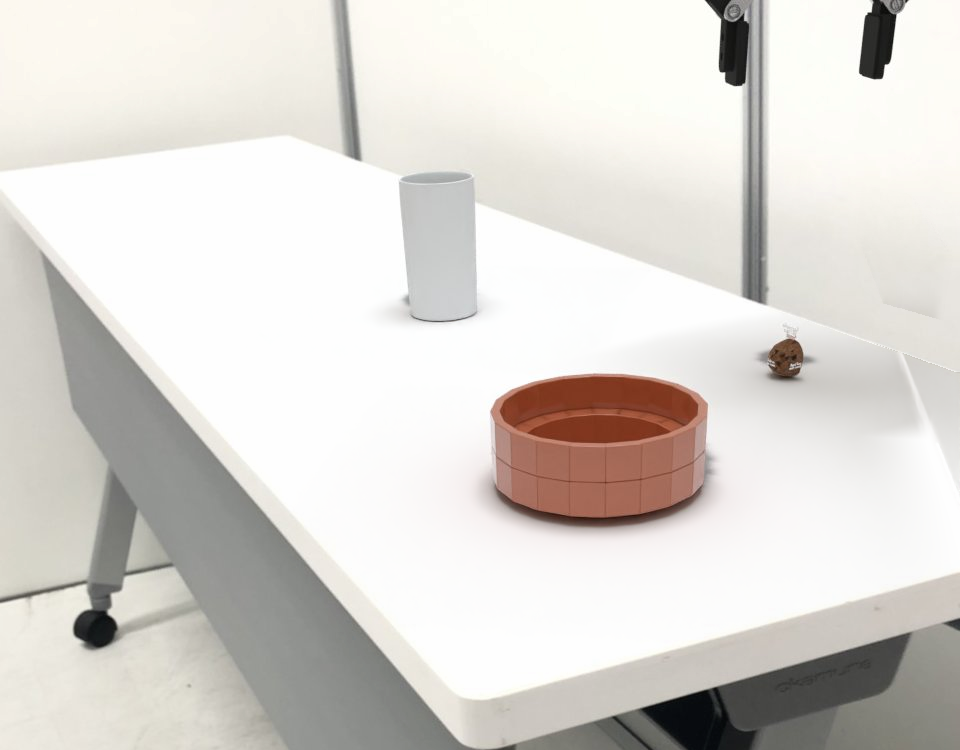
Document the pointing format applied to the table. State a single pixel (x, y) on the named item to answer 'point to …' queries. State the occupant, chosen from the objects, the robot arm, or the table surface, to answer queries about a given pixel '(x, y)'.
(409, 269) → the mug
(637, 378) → the bowl
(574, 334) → the table surface
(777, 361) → the chocolate
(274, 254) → the table surface
